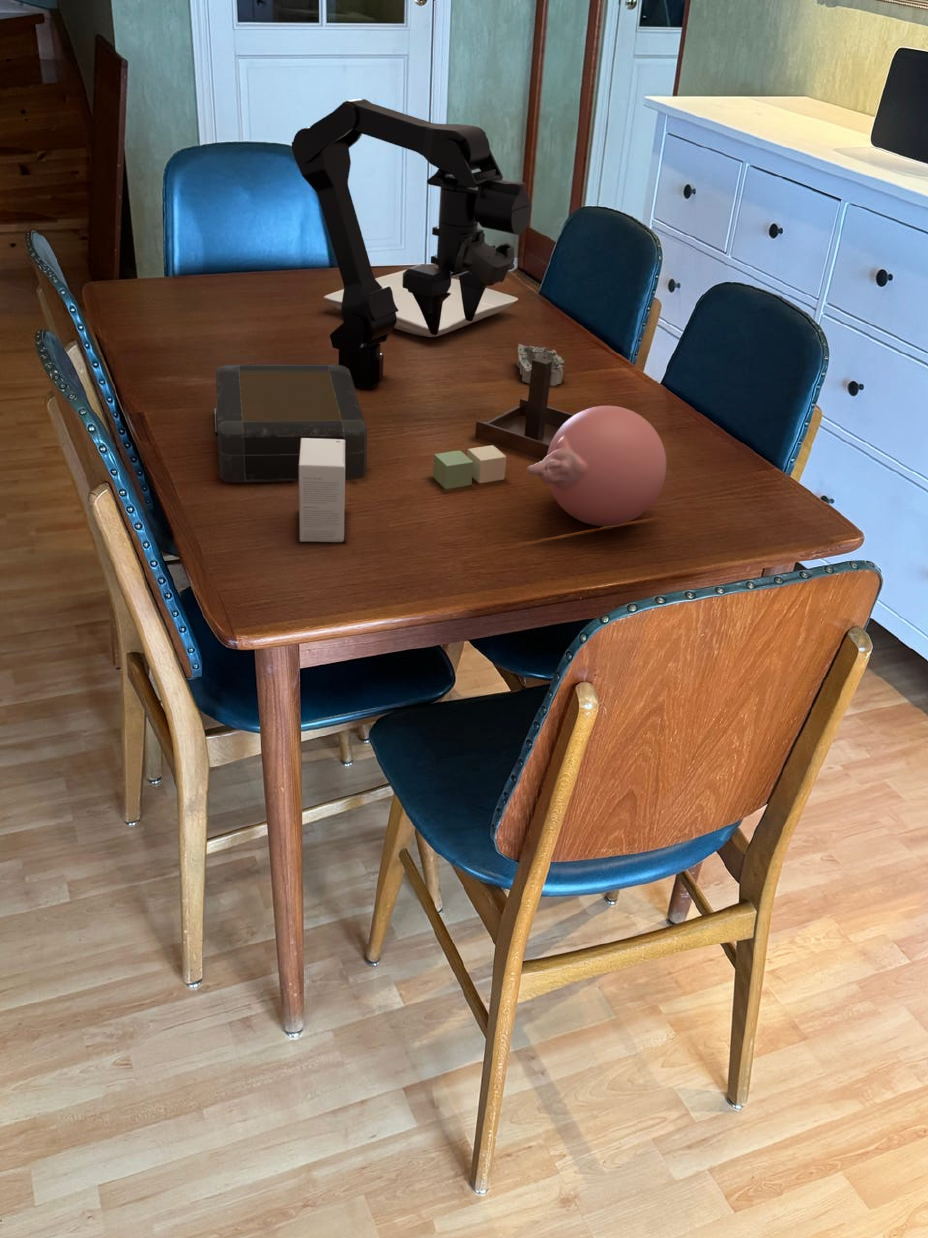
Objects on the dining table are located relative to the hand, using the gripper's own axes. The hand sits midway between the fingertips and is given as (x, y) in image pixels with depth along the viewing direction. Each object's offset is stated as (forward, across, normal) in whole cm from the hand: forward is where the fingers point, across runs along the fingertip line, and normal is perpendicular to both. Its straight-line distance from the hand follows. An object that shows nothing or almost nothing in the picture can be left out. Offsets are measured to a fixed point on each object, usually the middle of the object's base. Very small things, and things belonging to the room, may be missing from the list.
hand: (451, 327), depth 168 cm
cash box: (+13, -28, +8) cm, 32 cm away
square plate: (+13, +34, +31) cm, 48 cm away
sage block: (+11, -21, -15) cm, 28 cm away
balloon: (+13, -19, -36) cm, 43 cm away
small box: (+13, -43, -11) cm, 46 cm away
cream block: (+11, -16, -17) cm, 26 cm away
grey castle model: (+13, +23, -3) cm, 27 cm away
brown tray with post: (+13, -1, -17) cm, 21 cm away
